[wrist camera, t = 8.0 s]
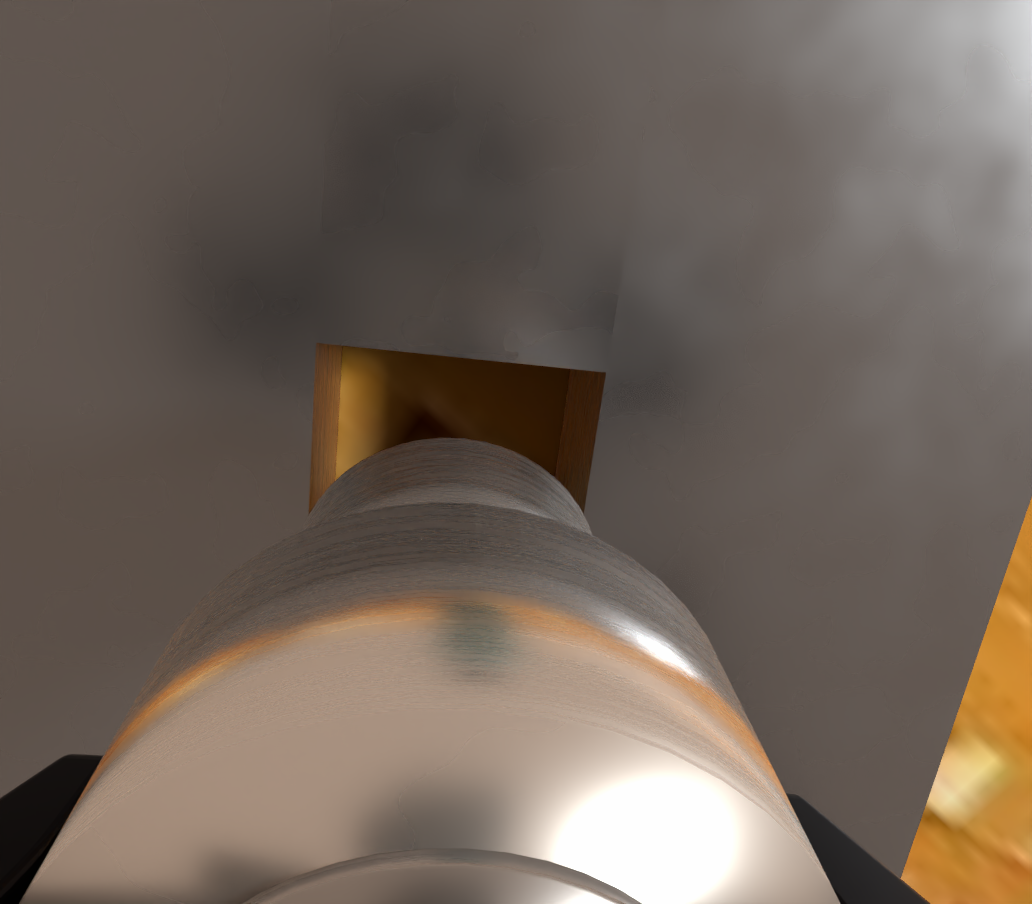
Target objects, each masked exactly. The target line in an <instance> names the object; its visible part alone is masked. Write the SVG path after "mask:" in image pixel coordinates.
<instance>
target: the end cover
mask: <svg viewBox="0 0 1032 904" xmlns="http://www.w3.org/2000/svg"><path fill="white" fill-rule="evenodd" d="M19 904H840V902H839V900H838V898H837V896H836V894H835V892H834V890H833V888H832V886H831V884H830V882H829V880H828V878H827V876H826V874H825V872H824V870H823V868H822V866H821V864H820V862H819V860H818V858H817V856H816V854H815V852H814V850H813V848H812V846H811V844H810V842H809V840H808V838H807V836H806V834H805V832H804V830H803V828H802V826H801V824H800V822H799V820H798V818H797V816H796V814H795V812H794V810H793V808H792V806H791V804H790V801H789V799H788V797H787V795H786V793H785V791H784V789H783V787H782V785H781V783H780V781H779V779H778V777H777V775H776V773H775V771H774V769H773V767H772V765H771V763H770V761H769V759H768V757H767V755H766V753H765V751H764V749H763V747H762V745H761V743H760V741H759V739H758V737H757V735H756V733H755V731H754V729H753V727H752V725H751V723H750V721H749V719H748V717H747V715H746V713H745V711H744V709H743V707H742V705H741V703H740V701H739V699H738V697H737V695H736V693H735V691H734V689H733V687H732V685H731V683H730V681H729V679H728V677H727V675H726V673H725V671H724V669H723V667H722V665H721V663H720V661H719V659H718V657H717V655H716V653H715V651H714V649H713V647H712V645H711V643H710V641H709V639H708V637H707V635H706V634H705V632H704V631H703V630H702V628H701V627H700V625H699V624H698V622H697V621H696V620H695V618H694V617H693V615H692V614H691V613H690V611H689V610H688V608H687V607H686V606H685V605H684V604H683V603H682V602H681V601H680V600H679V599H678V598H677V597H676V596H675V595H674V593H673V592H672V591H671V590H670V589H669V588H668V587H667V586H666V585H665V584H664V583H663V582H662V581H661V580H660V579H658V578H657V577H656V576H655V575H653V574H652V573H651V572H649V571H648V570H647V569H646V568H644V567H643V566H642V565H641V564H639V563H638V562H637V561H635V560H634V559H633V558H632V557H630V556H628V555H627V554H625V553H623V552H621V551H620V550H618V549H616V548H615V547H613V546H611V545H609V544H608V543H606V542H604V541H602V540H601V539H599V538H597V537H595V536H593V535H592V533H591V530H590V527H589V524H588V522H587V520H586V518H585V516H584V514H583V512H582V511H581V509H580V507H579V505H578V504H577V503H576V501H575V500H574V499H573V497H572V496H571V494H570V493H569V492H568V491H567V490H566V489H565V487H564V486H563V485H562V484H561V483H560V482H559V481H558V480H557V479H556V478H555V477H554V476H552V475H551V474H550V473H548V472H547V471H546V470H545V469H543V468H542V467H541V466H540V465H538V464H536V463H534V462H533V461H531V460H529V459H528V458H526V457H524V456H523V455H520V454H518V453H516V452H513V451H511V450H509V449H506V448H504V447H501V446H497V445H494V444H490V443H487V442H483V441H477V440H471V439H464V438H433V439H422V440H417V441H412V442H408V443H403V444H399V445H396V446H393V447H391V448H388V449H385V450H382V451H380V452H378V453H376V454H374V455H372V456H370V457H368V458H366V459H364V460H362V461H361V462H359V463H358V464H356V465H355V466H353V467H352V468H350V469H349V470H347V471H346V472H345V473H344V474H343V475H341V476H340V477H339V478H338V479H337V480H336V481H335V482H334V483H333V484H331V485H330V487H329V488H328V489H327V490H326V491H325V493H324V494H323V495H322V496H321V497H320V499H319V500H318V501H317V503H316V504H315V506H314V508H313V509H312V511H311V512H310V514H309V516H308V518H307V520H306V522H305V524H304V527H303V529H302V531H300V532H298V533H296V534H294V535H292V536H290V537H288V538H286V539H284V540H282V541H280V542H278V543H276V544H274V545H272V546H270V547H268V548H266V549H264V550H263V551H261V552H260V553H259V554H257V555H256V556H254V557H253V558H251V559H250V560H248V561H247V562H245V563H244V564H242V565H241V566H239V567H238V568H236V569H235V570H234V571H232V572H231V573H230V574H228V575H227V576H226V577H225V578H224V579H223V580H222V581H221V582H220V583H218V584H217V585H216V586H215V587H214V588H213V589H212V590H211V591H210V592H209V593H207V594H206V595H205V596H204V597H203V598H202V599H201V600H200V601H199V602H198V604H197V605H196V606H195V607H194V608H193V610H192V611H191V612H190V613H189V615H188V616H187V617H186V618H185V619H184V621H183V622H182V623H181V624H180V625H179V627H178V628H177V629H176V631H175V633H174V634H173V636H172V638H171V639H170V641H169V643H168V644H167V646H166V648H165V649H164V651H163V653H162V654H161V656H160V658H159V659H158V661H157V663H156V665H155V666H154V668H153V670H152V672H151V673H150V675H149V677H148V679H147V680H146V682H145V684H144V686H143V687H142V689H141V691H140V693H139V694H138V696H137V698H136V700H135V701H134V703H133V705H132V707H131V708H130V710H129V712H128V714H127V715H126V717H125V719H124V721H123V722H122V724H121V726H120V728H119V729H118V731H117V733H116V735H115V736H114V738H113V740H112V742H111V743H110V745H109V747H108V749H107V750H106V752H105V754H104V756H103V757H102V759H101V761H100V763H99V764H98V766H97V768H96V770H95V771H94V773H93V775H92V777H91V778H90V780H89V782H88V784H87V785H86V787H85V789H84V791H83V792H82V794H81V796H80V798H79V799H78V801H77V803H76V805H75V806H74V808H73V810H72V812H71V813H70V815H69V817H68V819H67V820H66V822H65V824H64V826H63V827H62V829H61V831H60V833H59V834H58V836H57V838H56V840H55V841H54V843H53V845H52V847H51V848H50V850H49V852H48V854H47V855H46V857H45V859H44V861H43V862H42V864H41V866H40V868H39V869H38V871H37V873H36V875H35V876H34V878H33V880H32V882H31V883H30V885H29V887H28V889H27V890H26V892H25V894H24V896H23V897H22V899H21V901H20V903H19Z"/></svg>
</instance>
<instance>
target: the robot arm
mask: <svg viewBox="0 0 1032 904" xmlns="http://www.w3.org/2000/svg"><path fill="white" fill-rule="evenodd" d="M102 757H103V755H85V754H68V755H65V756H63V757H61V758H59V759H58V760H56V761H55V762H53V763H52V764H50V765H49V766H47V767H46V768H44V769H43V770H41V771H40V772H38V773H37V774H35V775H34V776H32V777H31V778H29V779H28V780H26V781H25V782H23V783H22V784H20V785H19V786H17V787H16V788H14V789H13V790H11V791H10V792H8V793H7V794H5V795H4V796H2V797H1V798H0V904H19V903H20V901H21V899H22V897H23V896H24V894H25V892H26V890H27V889H28V887H29V885H30V883H31V882H32V880H33V878H34V876H35V875H36V873H37V871H38V869H39V868H40V866H41V864H42V862H43V861H44V859H45V857H46V855H47V854H48V852H49V850H50V848H51V847H52V845H53V843H54V841H55V840H56V838H57V836H58V834H59V833H60V831H61V829H62V827H63V826H64V824H65V822H66V820H67V819H68V817H69V815H70V813H71V812H72V810H73V808H74V806H75V805H76V803H77V801H78V799H79V798H80V796H81V794H82V792H83V791H84V789H85V787H86V785H87V784H88V782H89V780H90V778H91V777H92V775H93V773H94V771H95V770H96V768H97V766H98V764H99V763H100V761H101V759H102ZM786 795H787V797H788V799H789V801H790V804H791V806H792V808H793V810H794V812H795V814H796V816H797V818H798V820H799V822H800V824H801V826H802V828H803V830H804V832H805V834H806V836H807V838H808V840H809V842H810V844H811V846H812V848H813V850H814V852H815V854H816V856H817V858H818V860H819V862H820V864H821V866H822V868H823V870H824V872H825V874H826V876H827V878H828V880H829V882H830V884H831V886H832V888H833V890H834V892H835V894H836V896H837V898H838V900H839V902H840V904H930V903H929V902H928V901H927V900H925V899H924V898H923V897H922V896H921V895H919V894H918V893H917V892H916V891H915V890H913V889H912V888H911V887H910V886H909V885H907V884H906V883H905V882H904V881H903V880H901V879H900V878H899V877H898V876H896V875H895V874H894V873H893V872H892V871H890V870H889V869H888V868H887V867H886V866H884V865H883V864H882V863H881V862H880V861H878V860H877V859H876V858H875V857H874V856H872V855H871V854H870V853H869V852H868V851H866V850H865V849H864V848H863V847H862V846H860V845H859V844H858V843H857V842H856V841H854V840H853V839H852V838H851V837H849V836H848V835H847V834H846V833H845V832H843V831H842V830H841V829H840V828H839V827H837V826H836V825H835V824H834V823H833V822H831V821H830V820H829V819H828V818H827V817H825V816H824V815H823V814H822V813H821V812H819V811H818V810H817V809H816V808H815V807H813V806H812V805H811V804H810V803H809V802H807V801H806V800H805V799H803V798H802V797H800V796H798V795H795V794H786Z"/></svg>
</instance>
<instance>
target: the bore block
mask: <svg viewBox="0 0 1032 904" xmlns="http://www.w3.org/2000/svg"><path fill="white" fill-rule="evenodd" d="M342 346H352V347H362V348H372V349H381V350H391V351H401V352H411V353H421V354H430V355H440V356H450V357H460V358H469V359H479V360H489V361H499V362H509V363H518V364H528V365H538V366H548V367H558V368H567V369H571V370H570V377H569V383H568V390H567V397H566V404H565V411H564V418H563V425H562V432H561V439H560V446H559V453H558V459H557V466H556V473H555V478H556V479H557V480H558V481H559V482H560V483H561V484H562V485H563V486H564V487H565V489H566V490H567V491H568V492H569V493H570V494H571V496H572V497H573V499H574V500H575V501H576V503H577V504H578V505H579V507H580V509H581V511H582V512H583V514H584V516H585V518H586V520H587V522H588V524H589V527H590V530H591V533H592V535H593V536H595V537H597V538H599V539H601V540H602V541H604V542H606V543H608V544H609V545H611V546H613V547H615V548H616V549H618V550H620V551H621V552H623V553H625V554H627V555H628V556H630V557H632V558H633V559H634V560H635V561H637V562H638V563H639V564H641V565H642V566H643V567H644V568H646V569H647V570H648V571H649V572H651V573H652V574H653V575H655V576H656V577H657V578H658V579H660V580H661V581H662V582H663V583H664V584H665V585H666V586H667V587H668V588H669V589H670V590H671V591H672V592H673V593H674V595H675V596H676V597H677V598H678V599H679V600H680V601H681V602H682V603H683V604H684V605H685V606H686V607H687V608H688V610H689V611H690V613H691V614H692V615H693V617H694V618H695V620H696V621H697V622H698V624H699V625H700V627H701V628H702V630H703V631H704V632H705V634H706V635H707V637H708V639H709V641H710V643H711V645H712V647H713V649H714V651H715V653H716V655H717V657H718V659H719V661H720V663H721V665H722V667H723V669H724V671H725V673H726V675H727V677H728V679H729V681H730V683H731V685H732V687H733V689H734V691H735V693H736V695H737V697H738V699H739V701H740V703H741V705H742V707H743V709H744V711H745V713H746V715H747V717H748V719H749V721H750V723H751V725H752V727H753V729H754V731H755V733H756V735H757V737H758V739H759V741H760V743H761V745H762V747H763V749H764V751H765V753H766V755H767V757H768V759H769V761H770V763H771V765H772V767H773V769H774V771H775V773H776V775H777V777H778V779H779V781H780V783H781V785H782V787H783V789H784V791H785V793H786V794H795V795H798V796H800V797H802V798H803V799H805V800H806V801H807V802H809V803H810V804H811V805H812V806H813V807H815V808H816V809H817V810H818V811H819V812H821V813H822V814H823V815H824V816H825V817H827V818H828V819H829V820H830V821H831V822H833V823H834V824H835V825H836V826H837V827H839V828H840V829H841V830H842V831H843V832H845V833H846V834H847V835H848V836H849V837H851V838H852V839H853V840H854V841H856V842H857V843H858V844H859V845H860V846H862V847H863V848H864V849H865V850H866V851H868V852H869V853H870V854H871V855H872V856H874V857H875V858H876V859H877V860H878V861H880V862H881V863H882V864H883V865H884V866H886V867H887V868H888V869H889V870H890V871H892V872H893V873H894V874H895V875H896V876H898V877H899V878H901V876H902V873H903V870H904V867H905V864H906V861H907V858H908V855H909V852H910V849H911V846H912V843H913V841H914V838H915V835H916V832H917V829H918V826H919V823H920V820H921V817H922V814H923V811H924V809H925V806H926V803H927V800H928V797H929V794H930V791H931V788H932V785H933V782H934V779H935V777H936V774H937V771H938V768H939V765H940V762H941V759H942V756H943V753H944V750H945V747H946V744H947V742H948V739H949V736H950V733H951V730H952V727H953V724H954V721H955V718H956V715H957V712H958V710H959V707H960V704H961V701H962V698H963V695H964V692H965V689H966V686H967V683H968V680H969V677H970V675H971V672H972V669H973V666H974V663H975V660H976V657H977V654H978V651H979V648H980V645H981V643H982V640H983V637H984V634H985V631H986V628H987V625H988V622H989V619H990V616H991V613H992V610H993V608H994V605H995V602H996V599H997V596H998V593H999V590H1000V587H1001V584H1002V581H1003V578H1004V576H1005V573H1006V570H1007V567H1008V564H1009V561H1010V558H1011V555H1012V552H1013V549H1014V546H1015V544H1016V541H1017V538H1018V535H1019V532H1020V529H1021V526H1022V523H1023V520H1024V517H1025V514H1026V511H1027V509H1028V506H1029V503H1030V500H1031V497H1032V0H0V798H1V797H2V796H4V795H5V794H7V793H8V792H10V791H11V790H13V789H14V788H16V787H17V786H19V785H20V784H22V783H23V782H25V781H26V780H28V779H29V778H31V777H32V776H34V775H35V774H37V773H38V772H40V771H41V770H43V769H44V768H46V767H47V766H49V765H50V764H52V763H53V762H55V761H56V760H58V759H59V758H61V757H63V756H65V755H68V754H85V755H103V756H104V754H105V752H106V750H107V749H108V747H109V745H110V743H111V742H112V740H113V738H114V736H115V735H116V733H117V731H118V729H119V728H120V726H121V724H122V722H123V721H124V719H125V717H126V715H127V714H128V712H129V710H130V708H131V707H132V705H133V703H134V701H135V700H136V698H137V696H138V694H139V693H140V691H141V689H142V687H143V686H144V684H145V682H146V680H147V679H148V677H149V675H150V673H151V672H152V670H153V668H154V666H155V665H156V663H157V661H158V659H159V658H160V656H161V654H162V653H163V651H164V649H165V648H166V646H167V644H168V643H169V641H170V639H171V638H172V636H173V634H174V633H175V631H176V629H177V628H178V627H179V625H180V624H181V623H182V622H183V621H184V619H185V618H186V617H187V616H188V615H189V613H190V612H191V611H192V610H193V608H194V607H195V606H196V605H197V604H198V602H199V601H200V600H201V599H202V598H203V597H204V596H205V595H206V594H207V593H209V592H210V591H211V590H212V589H213V588H214V587H215V586H216V585H217V584H218V583H220V582H221V581H222V580H223V579H224V578H225V577H226V576H227V575H228V574H230V573H231V572H232V571H234V570H235V569H236V568H238V567H239V566H241V565H242V564H244V563H245V562H247V561H248V560H250V559H251V558H253V557H254V556H256V555H257V554H259V553H260V552H261V551H263V550H264V549H266V548H268V547H270V546H272V545H274V544H276V543H278V542H280V541H282V540H284V539H286V538H288V537H290V536H292V535H294V534H296V533H298V532H300V531H302V529H303V527H304V524H305V522H306V520H307V518H308V516H309V514H310V512H311V511H312V509H313V508H314V506H315V504H316V503H317V501H318V500H319V499H320V497H321V496H322V495H323V494H324V493H325V491H326V490H327V489H328V488H329V487H330V485H331V484H333V483H334V482H335V472H336V454H337V436H338V417H339V399H340V380H341V362H342Z"/></svg>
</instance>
